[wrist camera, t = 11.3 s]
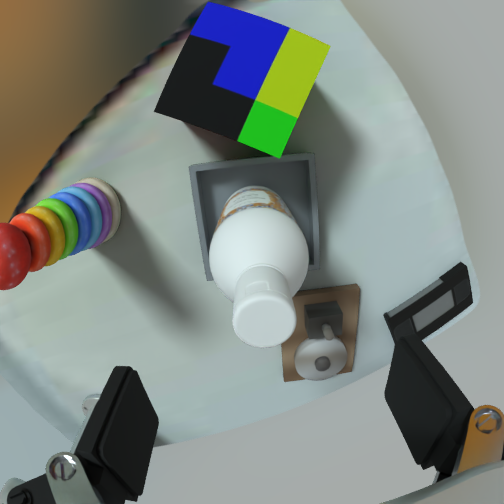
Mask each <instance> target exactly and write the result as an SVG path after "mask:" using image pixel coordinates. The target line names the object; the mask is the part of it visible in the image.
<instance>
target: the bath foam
mask: <svg viewBox="0 0 504 504" xmlns="http://www.w3.org/2000/svg"><path fill="white" fill-rule="evenodd" d="M209 263H210V269H211V273H212V276H213V279H214V281H215V283H216V285H217V287H218V288H219V290H220V291H221V292H222V293H223V295H224V296H226V297H227V298H228V299H229V300H230V301H232V302H233V303H234V307H233V327H234V330H235V333H236V334H237V336H238V337H239V338H240V339H241V340H242V341H243V342H244V343H246V344H248V345H250V346H253V347H257V348H270V347H274V346H277V345H280V344H282V343H283V342H285V341H286V340H287V339H288V338H289V337H290V336H291V335H292V333H293V332H294V330H295V327H296V322H297V317H296V311H295V308H294V304H293V300H292V297H293V296H294V295H295V294H296V293H297V291H298V290H299V289H300V287H301V286H302V284H303V282H304V279H305V277H306V274H307V270H308V263H309V254H308V247H307V242H306V239H305V236H304V234H303V232H302V230H301V229H300V227H299V225H298V224H297V222H296V220H295V219H294V217H293V215H292V214H291V212H290V210H289V209H288V207H287V206H286V204H285V202H284V201H283V200H282V198H281V197H280V196H279V195H278V194H277V193H276V192H274V191H273V190H271V189H269V188H267V187H263V186H247V187H244V188H241V189H239V190H238V191H236V192H235V193H233V194H232V195H231V196H230V198H229V199H228V200H227V202H226V204H225V206H224V208H223V210H222V213H221V216H220V218H219V221H218V224H217V226H216V229H215V232H214V234H213V237H212V240H211V243H210V248H209Z"/></svg>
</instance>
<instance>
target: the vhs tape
mask: <svg viewBox="0 0 504 504" xmlns="http://www.w3.org/2000/svg"><path fill="white" fill-rule="evenodd" d="M472 303H473V299H472V292H471V285H470V279H469V274H468V269H467V266H466V265H464V264H463V263H462V262H460V263H458V264H457V265H456V266H454V267H453V268H452V269H450V270H449V271H448V272H446V273H445V274H443V275H442V276H441V277H439V279H438V280H436V281H435V282H433V283H432V284H431V285H429V286H428V287H426V288H425V289H423V290H422V291H420V292H419V293H417V294H416V295H414V296H413V297H411V298H410V299H408V300H407V301H405V302H404V303H402V304H400V305H399V306H397V307H396V308H394V309H393V310H391V311H389V312H388V313H385V314H384V315H383V316H384V318H385V320H386V323H387V325H388V328H389V330H390V332H391V335H392V337H393V340H394V343H396V342H397V341H399V338H400V337H401V336H405V335H409V334H413V333H415V334H417V335H418V337H419V338H420V339H421V340H423V339H424V338H426V337H427V336H429V335H430V334H431V333H433V332H434V331H436V330H437V329H439V328H440V327H442V326H443V325H444V324H446V323H447V322H449V321H450V320H451V319H453V318H454V317H455V316H457V315H458V314H459V313H461V312H462V311H463V310H465V309H466V308H467V307H468V306H470V305H471V304H472Z"/></svg>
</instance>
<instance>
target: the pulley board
mask: <svg viewBox="0 0 504 504" xmlns="http://www.w3.org/2000/svg"><path fill="white" fill-rule="evenodd" d="M359 294H360V288H359V286H358V285H357V284H351V285H344V286H336V287H328V288H321V289H312V290H304V291H297V293H296V294H295V295H294V296H293V297H292V300H293V304H294V308H295V311H296V317H297V322H296V327H295V330H294V332H293V333H292V335H291V336H290V337H289V338H288V339H287V340H286V341H285V342H283V343H282V344H281V347H282V362H283V377H284V382H288V381H296V380H303V379H308V380H324V379H327V378H330V377H332V376H334V375H336V374H342V373H347V372H352V366H353V358H354V350H355V341H356V331H357V320H358V308H359Z"/></svg>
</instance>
